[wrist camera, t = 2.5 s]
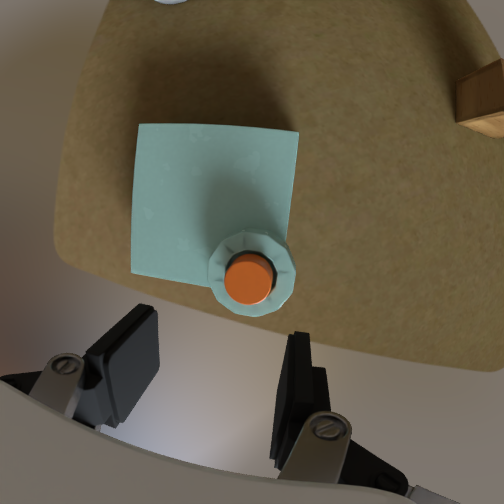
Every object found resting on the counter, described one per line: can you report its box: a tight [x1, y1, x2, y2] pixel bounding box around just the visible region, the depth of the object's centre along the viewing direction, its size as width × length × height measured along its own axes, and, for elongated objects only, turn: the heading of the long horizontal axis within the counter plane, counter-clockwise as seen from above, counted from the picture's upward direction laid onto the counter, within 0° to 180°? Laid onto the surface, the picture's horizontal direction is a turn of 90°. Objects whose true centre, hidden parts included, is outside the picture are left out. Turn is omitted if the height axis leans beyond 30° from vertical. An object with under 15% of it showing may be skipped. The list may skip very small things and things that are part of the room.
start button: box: [224, 254, 273, 305], centre depth 20 cm, size 3×3×2 cm
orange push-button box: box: [131, 123, 299, 317], centre depth 22 cm, size 13×13×6 cm
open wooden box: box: [456, 58, 504, 139], centre depth 16 cm, size 5×4×8 cm
